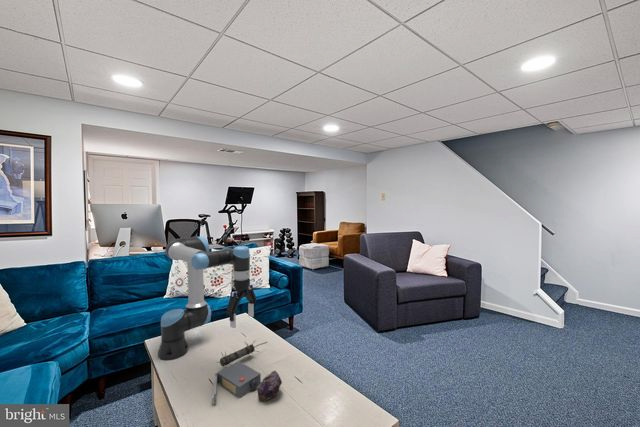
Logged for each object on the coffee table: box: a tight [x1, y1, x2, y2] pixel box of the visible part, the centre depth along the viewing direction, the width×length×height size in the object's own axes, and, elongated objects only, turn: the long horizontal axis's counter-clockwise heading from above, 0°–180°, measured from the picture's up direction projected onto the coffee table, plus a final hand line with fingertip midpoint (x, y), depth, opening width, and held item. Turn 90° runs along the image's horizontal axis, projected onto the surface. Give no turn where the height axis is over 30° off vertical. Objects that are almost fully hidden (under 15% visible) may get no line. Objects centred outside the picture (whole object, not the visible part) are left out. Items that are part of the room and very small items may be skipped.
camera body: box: [216, 360, 262, 399], centre depth 130 cm, size 19×12×6 cm, turn 53°
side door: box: [211, 372, 219, 405], centre depth 124 cm, size 15×2×5 cm, turn 18°
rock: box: [256, 370, 283, 402], centre depth 123 cm, size 12×9×10 cm
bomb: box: [217, 340, 268, 370], centre depth 150 cm, size 11×10×30 cm
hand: (242, 321), depth 136 cm, fingers open, 13 cm apart
